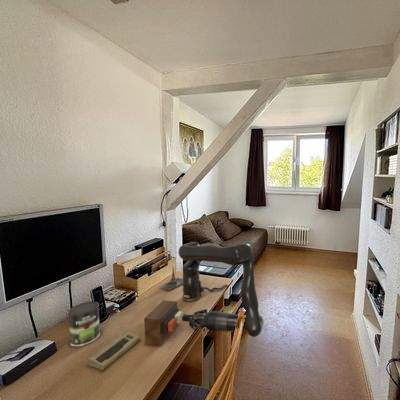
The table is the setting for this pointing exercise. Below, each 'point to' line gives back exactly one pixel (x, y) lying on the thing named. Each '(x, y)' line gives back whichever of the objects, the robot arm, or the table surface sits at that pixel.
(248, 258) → the robot arm
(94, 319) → the coffee can
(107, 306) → the calculator
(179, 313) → the cream key
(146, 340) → the key block
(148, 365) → the table surface
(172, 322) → the terracotta key
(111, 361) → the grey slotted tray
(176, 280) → the eiffel tower figurine
